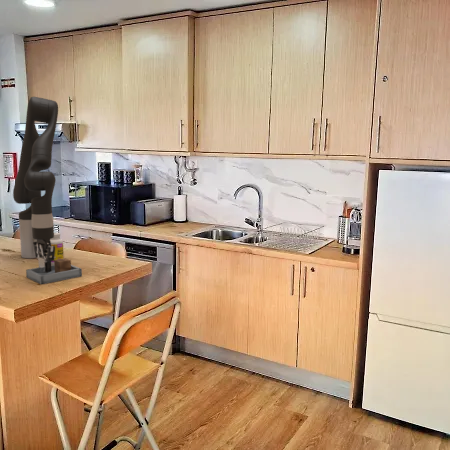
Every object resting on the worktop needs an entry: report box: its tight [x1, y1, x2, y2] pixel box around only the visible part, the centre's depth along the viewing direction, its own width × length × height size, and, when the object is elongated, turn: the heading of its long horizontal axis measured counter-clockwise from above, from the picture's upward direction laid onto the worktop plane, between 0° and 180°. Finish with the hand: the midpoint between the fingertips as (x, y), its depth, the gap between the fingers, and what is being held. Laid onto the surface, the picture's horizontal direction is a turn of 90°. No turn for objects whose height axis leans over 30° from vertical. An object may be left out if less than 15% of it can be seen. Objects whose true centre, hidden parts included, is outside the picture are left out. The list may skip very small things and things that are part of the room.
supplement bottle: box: [50, 232, 65, 265], centre depth 202 cm, size 7×7×13 cm
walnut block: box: [54, 257, 72, 273], centre depth 184 cm, size 4×4×5 cm
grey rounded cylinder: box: [37, 256, 52, 273], centre depth 179 cm, size 4×4×6 cm
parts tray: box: [25, 264, 83, 285], centre depth 182 cm, size 13×16×3 cm
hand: (45, 270), depth 179 cm, fingers closed on grey rounded cylinder, 4 cm apart
